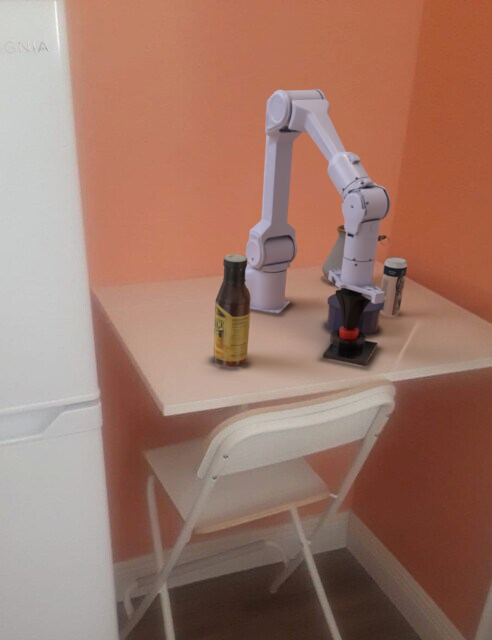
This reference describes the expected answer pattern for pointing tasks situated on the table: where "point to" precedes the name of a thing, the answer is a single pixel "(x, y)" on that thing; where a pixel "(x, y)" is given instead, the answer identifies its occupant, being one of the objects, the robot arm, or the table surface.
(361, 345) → the control block
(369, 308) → the lid
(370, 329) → the pot
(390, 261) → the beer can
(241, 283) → the sauce bottle
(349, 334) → the button
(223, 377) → the table surface
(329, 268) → the coffee pot
